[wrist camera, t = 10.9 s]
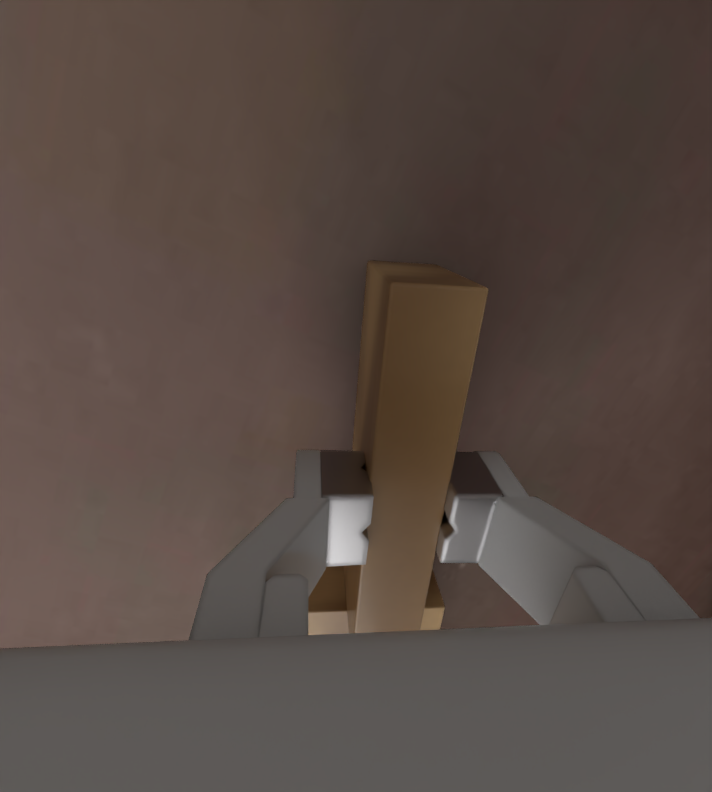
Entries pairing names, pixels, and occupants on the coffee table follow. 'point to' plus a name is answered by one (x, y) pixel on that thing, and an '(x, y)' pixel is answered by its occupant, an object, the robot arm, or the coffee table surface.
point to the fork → (404, 444)
